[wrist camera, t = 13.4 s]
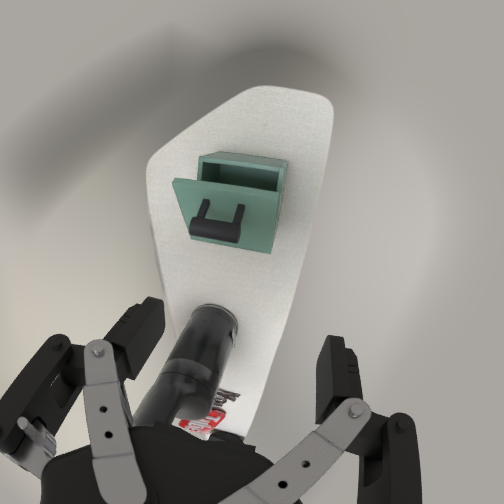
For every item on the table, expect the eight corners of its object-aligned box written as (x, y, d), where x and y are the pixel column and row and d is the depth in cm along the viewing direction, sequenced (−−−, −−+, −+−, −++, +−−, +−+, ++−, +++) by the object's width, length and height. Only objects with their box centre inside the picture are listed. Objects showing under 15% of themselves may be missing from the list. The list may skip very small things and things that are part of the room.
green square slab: (174, 177, 25) (155, 217, 23) (279, 192, 24) (270, 236, 22) (193, 234, 35) (181, 267, 33) (271, 248, 34) (264, 284, 32)
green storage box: (218, 151, 38) (198, 156, 31) (288, 161, 37) (285, 168, 30) (212, 215, 43) (193, 235, 35) (277, 227, 42) (271, 249, 34)
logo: (208, 391, 57) (246, 400, 60) (208, 385, 58) (245, 395, 61) (176, 429, 66) (207, 436, 69) (176, 424, 67) (207, 431, 70)
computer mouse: (245, 447, 67) (248, 437, 71) (210, 435, 68) (214, 425, 72) (239, 454, 69) (242, 445, 73) (206, 443, 70) (210, 434, 74)
